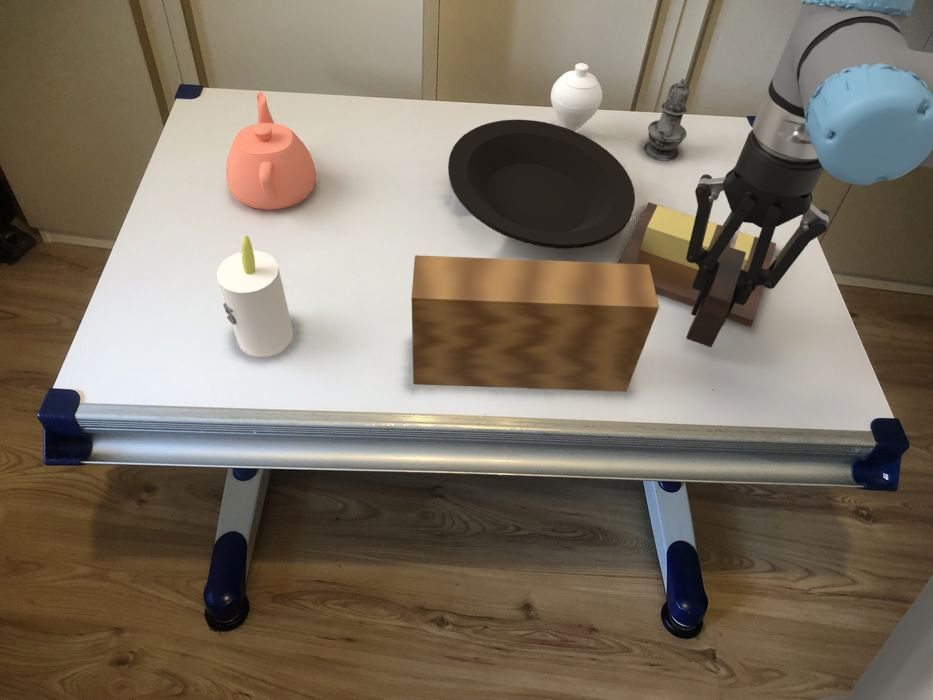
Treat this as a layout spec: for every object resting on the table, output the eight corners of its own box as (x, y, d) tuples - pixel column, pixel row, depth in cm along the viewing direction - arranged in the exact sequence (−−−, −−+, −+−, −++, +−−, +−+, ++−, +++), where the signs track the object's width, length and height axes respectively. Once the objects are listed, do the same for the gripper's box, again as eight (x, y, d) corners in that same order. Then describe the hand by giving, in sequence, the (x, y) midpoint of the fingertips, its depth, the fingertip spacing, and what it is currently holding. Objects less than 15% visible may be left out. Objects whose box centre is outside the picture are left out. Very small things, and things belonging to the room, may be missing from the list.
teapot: (229, 228, 91) (212, 168, 84) (231, 149, 102) (216, 90, 95) (321, 220, 93) (312, 161, 86) (313, 143, 104) (305, 85, 97)
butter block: (698, 270, 89) (708, 247, 86) (639, 250, 91) (647, 226, 88) (707, 247, 92) (717, 224, 89) (650, 228, 94) (657, 204, 91)
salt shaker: (678, 165, 105) (702, 93, 96) (640, 157, 106) (660, 85, 97) (681, 144, 109) (705, 72, 100) (644, 136, 110) (664, 65, 101)
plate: (415, 176, 100) (415, 142, 96) (551, 136, 109) (557, 104, 104) (514, 300, 85) (519, 268, 81) (664, 244, 93) (675, 212, 89)
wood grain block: (413, 384, 76) (411, 297, 66) (416, 343, 80) (414, 254, 69) (626, 392, 77) (659, 307, 66) (619, 350, 81) (649, 264, 70)
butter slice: (736, 283, 88) (748, 260, 85) (721, 277, 88) (731, 254, 85) (743, 259, 91) (755, 236, 87) (728, 254, 91) (739, 231, 88)
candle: (225, 335, 80) (191, 237, 68) (272, 308, 83) (247, 209, 71) (256, 367, 77) (226, 270, 65) (304, 337, 80) (283, 240, 68)
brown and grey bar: (711, 347, 80) (733, 303, 74) (685, 338, 80) (706, 294, 74) (745, 235, 92) (767, 190, 87) (723, 228, 93) (743, 183, 87)
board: (750, 327, 84) (754, 320, 84) (611, 277, 89) (613, 271, 88) (773, 249, 94) (776, 243, 93) (646, 208, 98) (648, 201, 97)
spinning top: (588, 124, 111) (603, 52, 102) (596, 152, 106) (613, 79, 97) (541, 123, 111) (552, 51, 101) (548, 152, 106) (560, 79, 97)
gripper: (699, 137, 63) (638, 310, 81) (875, 188, 60) (769, 358, 78) (717, 99, 68) (655, 271, 86) (881, 144, 64) (780, 314, 82)
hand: (709, 312), depth 82 cm, fingers closed on brown and grey bar, 2 cm apart
